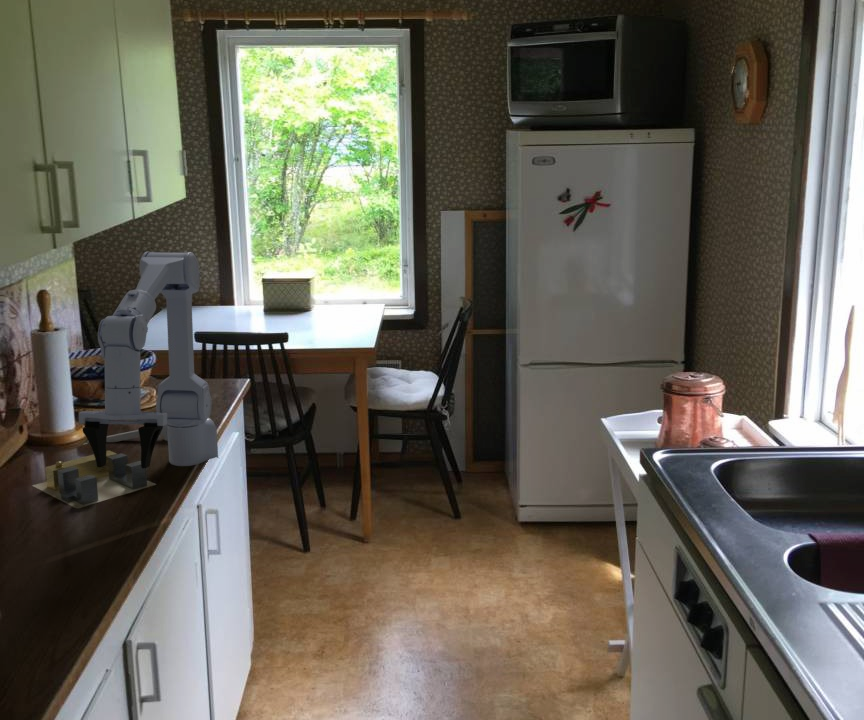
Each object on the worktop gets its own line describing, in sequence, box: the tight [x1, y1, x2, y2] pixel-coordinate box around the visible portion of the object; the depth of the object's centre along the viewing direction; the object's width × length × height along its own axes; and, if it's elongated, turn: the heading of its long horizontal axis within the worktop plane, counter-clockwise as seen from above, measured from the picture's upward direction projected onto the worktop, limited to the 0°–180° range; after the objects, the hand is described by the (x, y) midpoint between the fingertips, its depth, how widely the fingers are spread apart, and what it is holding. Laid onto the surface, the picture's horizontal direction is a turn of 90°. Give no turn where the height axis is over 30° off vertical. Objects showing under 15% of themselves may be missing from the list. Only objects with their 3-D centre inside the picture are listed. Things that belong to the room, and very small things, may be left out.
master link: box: [44, 449, 118, 491], centre depth 174 cm, size 13×3×5 cm, turn 139°
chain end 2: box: [107, 453, 148, 490], centre depth 173 cm, size 4×8×4 cm, turn 49°
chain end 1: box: [57, 466, 98, 505], centre depth 165 cm, size 4×8×4 cm, turn 49°
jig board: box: [31, 476, 157, 510], centre depth 172 cm, size 16×17×1 cm
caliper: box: [82, 425, 168, 446], centre depth 198 cm, size 20×1×6 cm, turn 97°
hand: (123, 466), depth 154 cm, fingers open, 7 cm apart
